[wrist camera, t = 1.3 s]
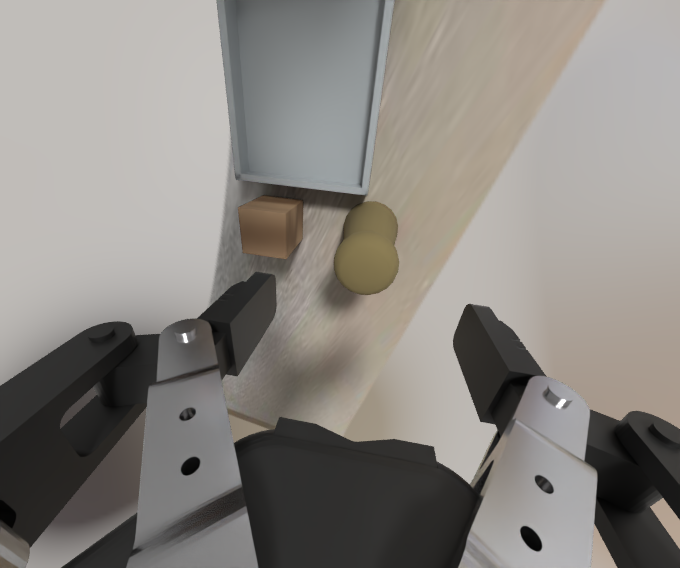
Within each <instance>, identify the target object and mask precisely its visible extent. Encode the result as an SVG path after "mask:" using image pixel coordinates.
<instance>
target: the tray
mask: <svg viewBox="0 0 680 568" xmlns="http://www.w3.org/2000/svg"><path fill="white" fill-rule="evenodd" d="M394 3H395V0H217V9H218V18H219V27H220V36H221V47H222V56H223V65H224V75H225V84H226V93H227V103H228V111H229V122H230V131H231V140H232V150H233V159H234V168H235V178H236V180H243V181H251V182H260V183H268V184H276V185H285V186H293V187H301V188H309V189H318V190H326V191H334V192H342V193H351V194H359V195H367V194H368V190H369V183H370V176H371V169H372V161H373V154H374V147H375V140H376V133H377V125H378V118H379V111H380V104H381V96H382V89H383V82H384V75H385V68H386V60H387V53H388V46H389V39H390V31H391V24H392V17H393V10H394Z"/></svg>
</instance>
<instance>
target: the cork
mask: <svg viewBox="0 0 680 568" xmlns="http://www.w3.org/2000/svg"><path fill="white" fill-rule="evenodd" d="M397 231H398V224H397V219H396V217H395V215H394V213H393V212H392V210H391V209H389V208H388V207H387V206H386V205H384V204H381V203H378V202H364V203H361V204H358V205H357V206H355V207H354V208H353V209H351V211H350V212H349V213H348V215H347V216H346V219H345V222H344V240H343V241H342V243H341V244H340V245H339V247H338V248H337V251H336V254H335V257H334V270H335V273H336V276H337V278H338V280H339V281H340V283H341V284H342V285H343V286H344V287H345V288H347V289H348V290H350V291H351V292H354V293H357V294H361V295H371V294H376V293H379V292H381V291H383V290H385V289H386V288H387V287H388V286H389V285H390V284H391V283H392V282H393V281H394V279H395V277H396V275H397V272H398V267H399V259H398V255H397V250H396V248H395V247H394V244H395V240H396V237H397Z"/></svg>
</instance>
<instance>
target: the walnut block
mask: <svg viewBox="0 0 680 568" xmlns="http://www.w3.org/2000/svg"><path fill="white" fill-rule="evenodd" d="M238 213H239V222H240V232H241V241H242V250H243V253H247V254H254V255H261V256H268V257H275V258H282V259H287V258H288V257H289V255H290V254H291V253H292V252H293V250H294V249H295V248H296V247H297V245H298V244H299V243H300V241H301V240H302V239H303V200H299V199H291V198H283V197H275V196H267V195H263V196H261V197H259V198H257V199H254V200H252V201H250V202H248V203H246V204H244V205H242V206H240V207H238Z"/></svg>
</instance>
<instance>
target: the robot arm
mask: <svg viewBox="0 0 680 568" xmlns="http://www.w3.org/2000/svg"><path fill="white" fill-rule="evenodd" d="M275 312H276V279H275V276H274V275H273V274H267V273H260V272H255V273H254V274H253V275H252V276H251V277H250V278H249V279H248V280H247V281H246V282H244V281H242V282H240V283H238V284H235V285H233V286H231V287H230V288H229V289H228V290H227V291H226V292H225V293H224V294H223V295H222V296H221V297H220V298H219V299H218V300H216V301H215V302H214V303H213V304H212V305H211V306H210V307H209V308H208V309H207V310H206V311H205V312H204V313H202V314H201V315H200V316H199V317H198V318H197V319H185V320H181V321H178V322H175V323H173V324H171V325H169V326H168V327H166V328H165V329H164V330H163V331H162V332H161V334H151V335H135V333H134V331H133V328H132V326H131V325H130V324H129V323H126V322H108V323H103V324H99V325H96V326H93V327H91V328H89V329H86V330H84V331H83V332H81V333H79V334H78V335H76V336H75V337H73V338H72V339H70V340H69V341H67V342H66V343H64V344H63V345H61V346H60V347H58V348H57V349H55V350H54V351H52V352H51V353H49V354H48V355H46V356H45V357H43V358H42V359H40V360H39V361H37V362H36V363H34V364H33V365H31V366H30V367H28V368H27V369H25V370H24V371H22V372H21V373H19V374H18V375H16V376H15V377H13V378H12V379H10V380H9V381H7V382H6V383H4V384H2V385H1V386H0V568H26V565H27V563H28V559H29V554H30V547H31V546H32V545H33V543H34V542H35V541H36V540H37V539H38V537H39V536H40V535H41V534H42V533H43V532H44V530H45V529H46V528H47V527H48V525H49V524H50V523H51V522H52V520H53V519H54V518H55V517H56V516H57V515H58V513H59V512H60V511H61V510H62V509H63V507H64V506H65V505H66V504H67V502H68V501H69V500H70V499H71V497H72V496H73V495H74V494H75V493H76V492H77V490H78V489H79V488H80V486H81V485H82V484H83V483H84V482H85V481H86V479H87V478H88V477H89V476H90V475H91V473H92V472H93V471H94V470H95V469H96V467H97V466H98V465H99V464H100V462H101V461H102V460H103V459H104V458H105V457H106V455H107V454H108V453H109V452H110V450H111V449H112V448H113V447H114V446H115V444H116V443H117V442H118V441H119V440H120V438H121V437H122V436H123V435H124V434H125V432H126V431H127V430H128V429H129V427H130V426H131V425H132V424H133V423H134V421H135V420H136V419H137V418H138V417H139V415H140V414H141V413H142V412H143V411H144V409H145V408H146V407H147V411H146V421H145V433H144V444H143V445H144V446H143V456H142V467H141V480H140V490H139V503H138V512H137V513H136V514H135V515H133V516H132V517H130V518H129V519H128V520H126V521H125V522H123V523H122V524H121V525H119V526H118V527H117V528H115V529H114V530H112V531H111V532H110V533H108V534H107V535H105V536H104V537H103V538H101V539H100V540H99V541H97V542H96V543H95V544H93V545H92V546H90V547H89V548H88V549H86V550H85V551H84V552H82V553H81V554H79V555H78V556H77V557H75V558H74V559H72V560H71V561H70V562H68V563H67V564H66V565H64V566H63V567H61V568H591V560H592V546H593V531H594V524H595V526H596V527H597V529H598V531H599V533H600V535H601V537H602V539H603V541H604V543H605V545H606V547H607V548H608V550H609V552H610V554H611V556H612V558H613V560H614V562H615V564H616V566H617V567H618V568H680V549H679V548H678V546H677V545H676V543H675V542H674V541H673V539H672V538H671V536H670V535H669V534H668V532H667V531H666V529H665V528H664V527H663V525H662V524H661V522H660V521H659V519H658V518H657V517H656V515H655V514H654V512H653V511H652V509H651V508H650V506H652V505H653V504H655V503H656V502H657V501H659V500H660V499H662V498H664V499H665V501H666V502H667V503H668V505H669V506H670V507H671V509H672V510H673V511H674V513H675V514H676V515H677V517H678V518H679V519H680V429H679V428H677V427H675V426H674V425H672V424H670V423H668V422H666V421H664V420H663V419H661V418H659V417H656V416H654V415H651V414H648V413H645V412H640V411H632V412H629V413H628V414H627V415H626V416H625V417H624V418H623V419H622V420H621V421H619V420H616V419H613V418H611V417H608V416H606V415H603V414H601V413H598V412H595V411H593V410H590V409H589V406H588V405H587V403H586V402H585V400H584V399H583V398H582V397H581V396H580V395H579V394H578V393H577V392H576V391H574V390H573V389H572V388H570V387H569V386H567V385H565V384H563V383H562V382H560V381H557V380H555V379H553V378H550V377H547V376H546V375H545V374H544V372H543V371H542V370H541V368H540V367H539V365H538V364H537V363H536V361H535V360H534V359H533V357H532V356H531V354H530V353H529V352H528V350H526V348H525V346H524V345H523V344H522V342H520V339H519V338H518V336H517V335H516V334H515V332H514V331H513V330H512V329H511V328H510V327H508V326H507V325H506V324H504V323H503V322H502V321H499V320H498V319H497V317H496V316H495V314H494V313H493V311H492V310H491V309H490V308H489V307H486V306H479V305H473V304H468V305H466V307H465V309H464V311H463V314H462V316H461V319H460V321H459V324H458V326H457V329H456V331H455V334H454V339H453V347H454V351H455V353H456V356H457V358H458V361H459V364H460V367H461V370H462V372H463V375H464V378H465V381H466V383H467V386H468V389H469V392H470V394H471V397H472V400H473V403H474V405H475V408H476V411H477V414H478V416H479V419H480V422H486V423H491V424H495V425H496V427H497V429H498V430H497V432H496V433H495V435H494V436H493V438H492V440H491V442H490V445H489V447H488V449H487V451H486V453H485V455H484V457H483V460H482V462H481V463H480V466H479V468H478V470H477V472H476V474H475V476H474V478H473V480H472V482H471V484H470V485H469V484H468V483H467V482H466V481H465V480H464V479H463V478H461V477H460V476H459V475H458V474H456V473H455V472H454V471H452V470H451V469H449V468H447V467H446V466H444V465H442V464H440V463H439V462H437V461H436V456H435V451H434V447H432V446H428V445H422V444H417V443H412V442H407V441H401V440H396V439H390V440H376V441H363V442H353V441H351V440H348V439H346V438H344V437H342V436H340V435H338V434H336V433H334V432H332V431H330V430H327V429H325V428H323V427H321V426H319V425H317V424H313V423H308V422H303V421H297V420H292V419H287V418H282V417H279V420H278V423H277V425H276V428H275V429H274V430H266V431H261V432H258V433H255V434H251V435H249V436H247V437H244V438H242V439H240V440H238V441H237V442H235V443H234V442H233V437H232V432H231V426H230V421H229V416H228V411H227V406H226V401H225V396H224V391H223V386H222V379H223V378H224V376H225V375H226V374H227V375H233V376H238V375H239V373H240V372H241V370H242V368H243V367H244V365H245V364H246V362H247V360H248V359H249V357H250V355H251V354H252V352H253V351H254V349H255V347H256V346H257V344H258V343H259V341H260V339H261V338H262V336H263V335H264V333H265V331H266V330H267V328H268V327H269V325H270V323H271V322H272V320H273V318H274V316H275ZM92 387H93V388H94V390H95V392H96V393H97V395H96V396H95V397H94V398H93V399H92V400H91V401H90V402H89V403H88V404H87V405H86V406H84V408H82V409H81V410H80V411H79V412H78V413H77V414H76V415H75V416H74V417H73V418H72V419H71V420H70V421H68V422H67V423H66V424H65V425H64V426H63V427H62V428H61V429H60V422H61V419H62V417H63V415H64V414H65V412H66V411H67V410H68V409H69V408H70V407H71V406H72V405H73V404H74V403H75V402H77V401H78V400H79V399H80V398H81V397H82V396H83V395H84V394H85V393H87V392H88V391H89V390H90V389H91V388H92Z"/></svg>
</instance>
